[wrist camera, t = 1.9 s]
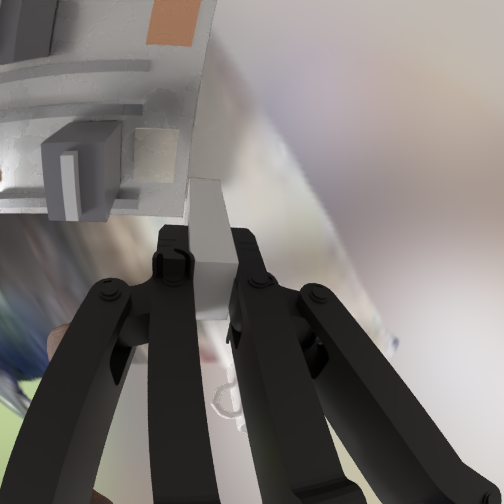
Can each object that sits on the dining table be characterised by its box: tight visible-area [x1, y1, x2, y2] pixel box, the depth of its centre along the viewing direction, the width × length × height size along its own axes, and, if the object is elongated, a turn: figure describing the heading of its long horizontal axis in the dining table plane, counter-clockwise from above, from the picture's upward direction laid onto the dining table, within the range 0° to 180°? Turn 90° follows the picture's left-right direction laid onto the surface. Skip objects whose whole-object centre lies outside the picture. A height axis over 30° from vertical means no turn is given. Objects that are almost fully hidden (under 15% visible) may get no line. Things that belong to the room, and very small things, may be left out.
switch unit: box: [0, 0, 217, 217], centre depth 16 cm, size 20×20×4 cm
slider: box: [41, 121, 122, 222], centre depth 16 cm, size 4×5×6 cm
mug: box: [211, 363, 248, 434], centre depth 40 cm, size 8×12×10 cm, turn 60°
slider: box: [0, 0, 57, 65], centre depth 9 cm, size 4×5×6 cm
